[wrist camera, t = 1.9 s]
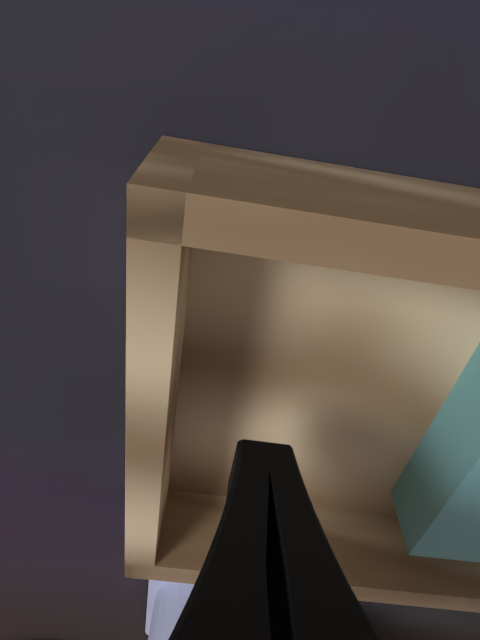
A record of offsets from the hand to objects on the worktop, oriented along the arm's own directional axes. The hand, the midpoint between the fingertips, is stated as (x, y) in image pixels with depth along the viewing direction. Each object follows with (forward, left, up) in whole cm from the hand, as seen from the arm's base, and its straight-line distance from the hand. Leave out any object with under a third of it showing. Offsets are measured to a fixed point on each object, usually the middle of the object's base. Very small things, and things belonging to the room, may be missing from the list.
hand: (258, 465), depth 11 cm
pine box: (0, -4, -4) cm, 5 cm away
